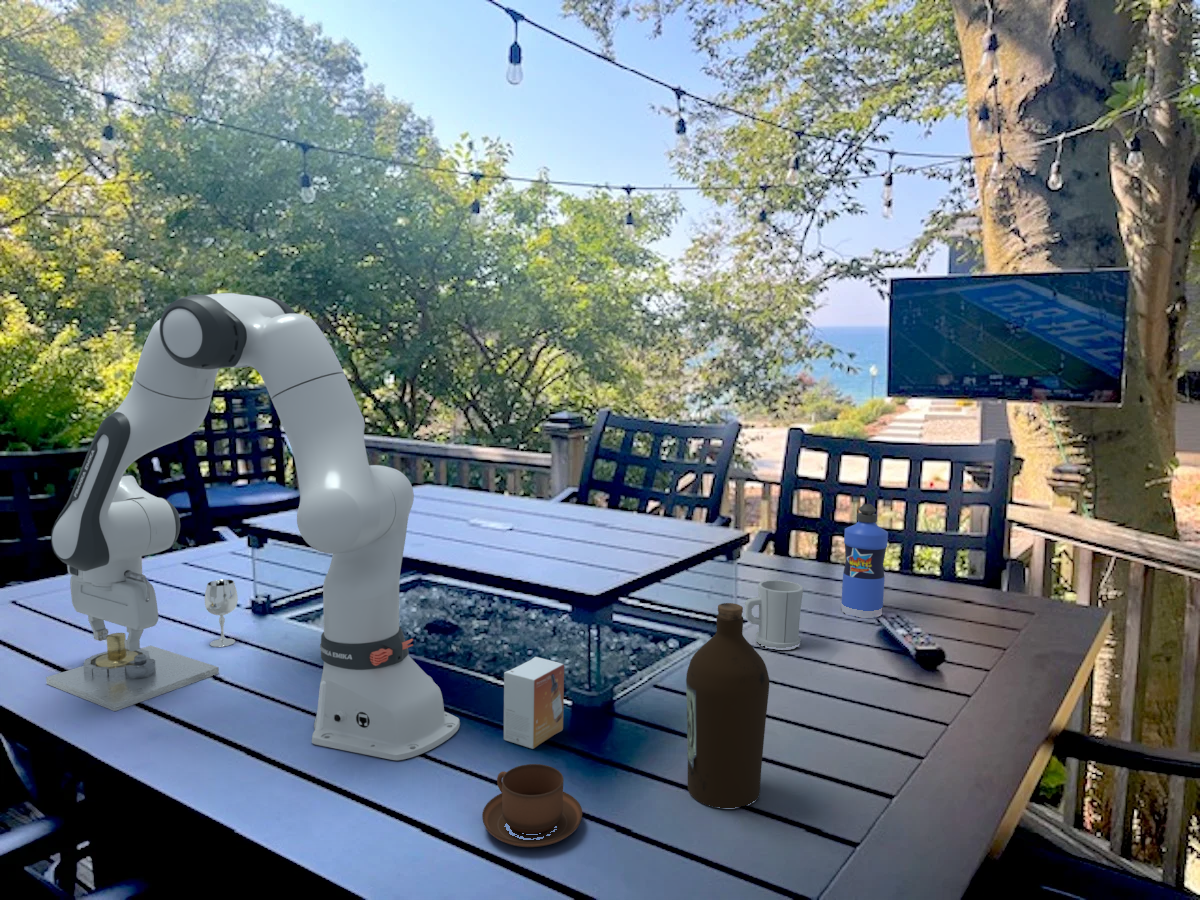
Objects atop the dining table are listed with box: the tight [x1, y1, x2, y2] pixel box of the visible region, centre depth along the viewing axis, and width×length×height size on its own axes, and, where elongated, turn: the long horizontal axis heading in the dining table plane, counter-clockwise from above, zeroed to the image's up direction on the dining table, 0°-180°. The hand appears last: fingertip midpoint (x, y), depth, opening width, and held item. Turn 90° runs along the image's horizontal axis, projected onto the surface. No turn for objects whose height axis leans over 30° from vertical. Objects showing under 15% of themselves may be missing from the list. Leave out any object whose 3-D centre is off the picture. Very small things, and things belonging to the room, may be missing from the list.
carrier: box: [45, 645, 220, 712], centre depth 138 cm, size 20×18×4 cm
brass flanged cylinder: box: [96, 632, 138, 667], centre depth 140 cm, size 6×6×6 cm
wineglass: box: [204, 579, 239, 648], centre depth 155 cm, size 6×6×12 cm
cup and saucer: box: [481, 763, 583, 848], centre depth 97 cm, size 12×12×6 cm
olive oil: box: [685, 602, 770, 808], centre depth 104 cm, size 11×11×25 cm
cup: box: [744, 579, 804, 648], centre depth 161 cm, size 10×9×12 cm
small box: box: [503, 656, 565, 750], centre depth 120 cm, size 8×6×10 cm
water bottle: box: [840, 503, 889, 611], centre depth 182 cm, size 9×9×25 cm
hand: (116, 644), depth 140 cm, fingers open, 8 cm apart
